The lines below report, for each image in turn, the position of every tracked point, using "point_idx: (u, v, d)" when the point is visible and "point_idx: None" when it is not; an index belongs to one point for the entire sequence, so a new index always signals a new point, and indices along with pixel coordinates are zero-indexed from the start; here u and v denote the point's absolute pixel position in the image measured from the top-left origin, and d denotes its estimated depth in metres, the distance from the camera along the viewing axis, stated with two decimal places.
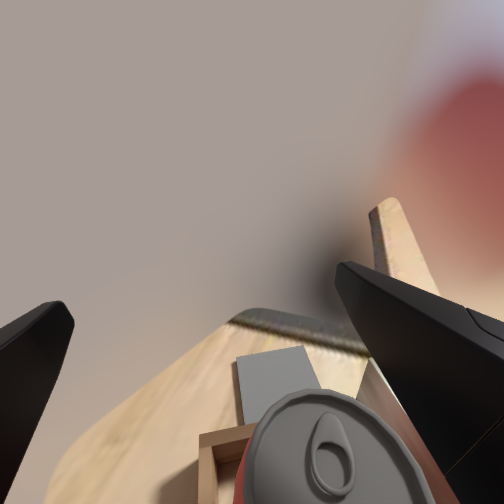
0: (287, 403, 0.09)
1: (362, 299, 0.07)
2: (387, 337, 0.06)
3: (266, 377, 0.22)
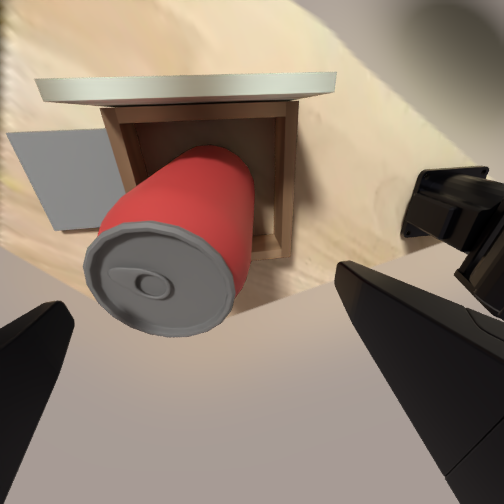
0: (106, 302, 0.09)
1: (362, 299, 0.07)
2: (387, 337, 0.06)
3: (77, 197, 0.18)
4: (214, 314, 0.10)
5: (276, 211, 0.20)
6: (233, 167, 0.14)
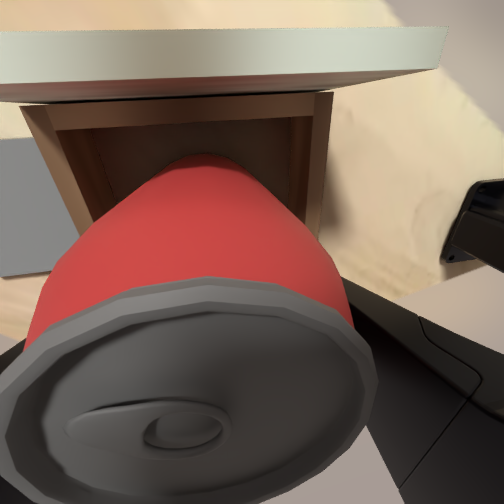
0: (56, 492, 0.04)
1: None
2: None
3: (14, 234, 0.13)
4: (306, 449, 0.05)
5: None
6: None
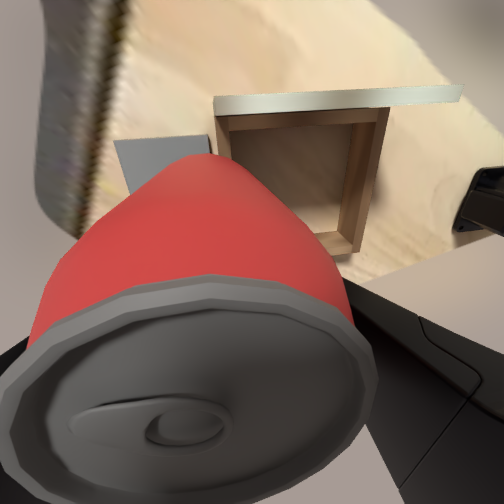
0: (59, 489, 0.04)
1: None
2: None
3: None
4: (307, 446, 0.05)
5: (345, 209, 0.21)
6: None
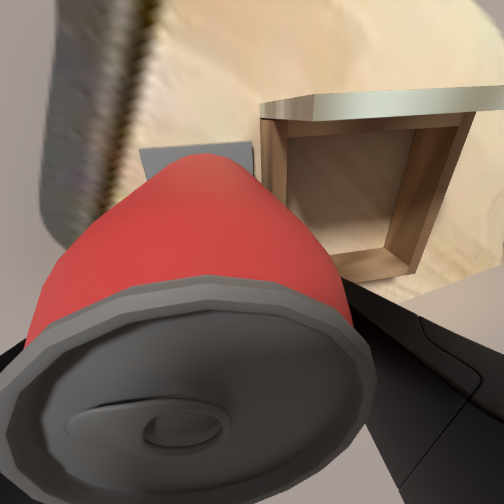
0: (57, 489, 0.04)
1: None
2: None
3: None
4: (305, 447, 0.05)
5: (399, 225, 0.19)
6: (254, 177, 0.10)
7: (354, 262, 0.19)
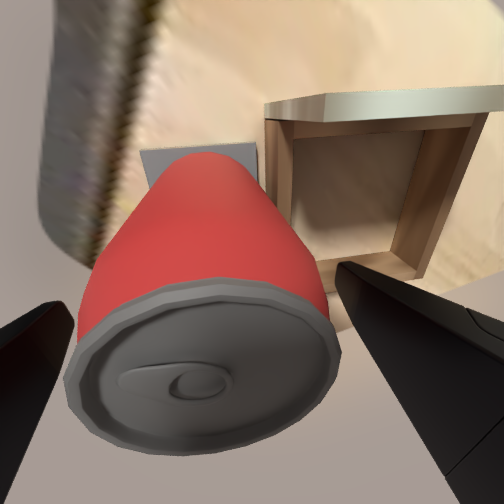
0: (106, 427, 0.05)
1: (362, 299, 0.07)
2: (387, 337, 0.06)
3: None
4: (289, 404, 0.06)
5: (406, 228, 0.18)
6: (252, 178, 0.11)
7: None
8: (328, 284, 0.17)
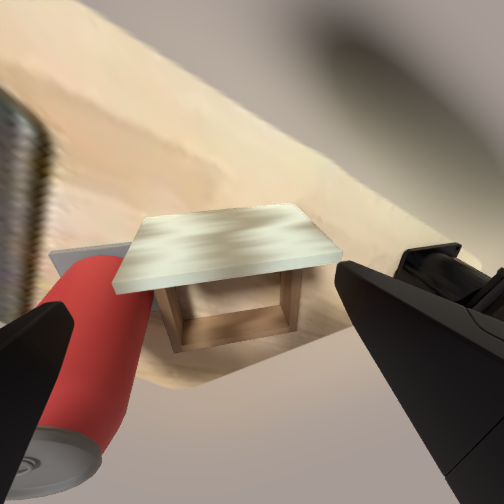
0: None
1: (362, 299, 0.07)
2: (387, 337, 0.06)
3: None
4: (87, 467, 0.11)
5: (283, 292, 0.23)
6: None
7: (248, 321, 0.23)
8: (215, 340, 0.22)
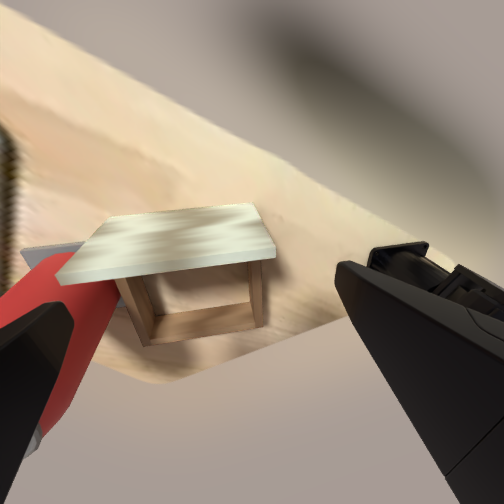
0: None
1: (362, 299, 0.07)
2: (387, 337, 0.06)
3: None
4: (30, 442, 0.12)
5: (250, 289, 0.24)
6: None
7: (216, 317, 0.24)
8: (183, 334, 0.23)
